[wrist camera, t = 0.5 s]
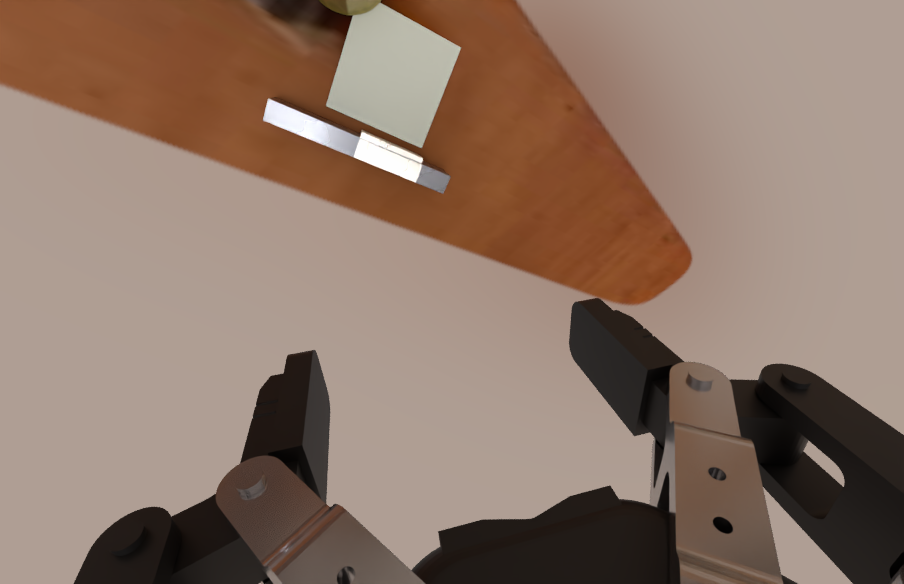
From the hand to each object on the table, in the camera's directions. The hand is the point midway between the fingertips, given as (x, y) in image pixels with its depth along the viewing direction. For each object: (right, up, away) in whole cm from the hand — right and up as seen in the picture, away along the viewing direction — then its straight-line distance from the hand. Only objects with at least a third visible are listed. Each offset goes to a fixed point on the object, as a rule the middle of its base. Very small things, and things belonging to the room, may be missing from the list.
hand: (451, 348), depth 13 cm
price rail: (-7, +14, +21) cm, 26 cm away
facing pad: (-5, +18, +19) cm, 27 cm away
